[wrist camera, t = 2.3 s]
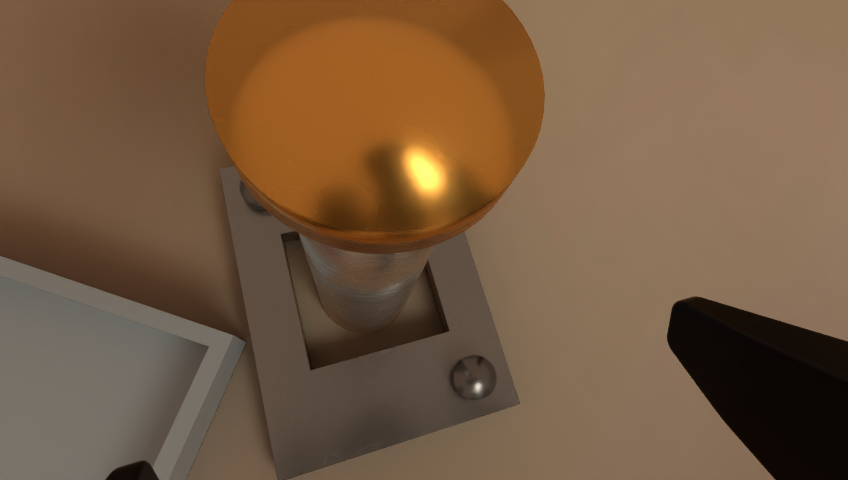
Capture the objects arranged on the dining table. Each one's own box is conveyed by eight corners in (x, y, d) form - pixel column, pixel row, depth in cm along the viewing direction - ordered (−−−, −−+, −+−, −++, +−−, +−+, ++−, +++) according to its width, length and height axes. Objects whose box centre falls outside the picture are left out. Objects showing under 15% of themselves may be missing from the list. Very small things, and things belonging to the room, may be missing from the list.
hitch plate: (512, 404, 20) (525, 403, 18) (282, 478, 18) (275, 485, 16) (427, 140, 23) (432, 121, 21) (225, 179, 21) (214, 161, 19)
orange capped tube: (400, 364, 19) (497, 283, 6) (284, 324, 19) (137, 157, 6) (436, 254, 21) (573, 7, 8) (329, 217, 21) (288, -97, 8)
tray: (95, 685, 15) (56, 727, 13) (-255, 573, 15) (-347, 600, 13) (246, 342, 19) (233, 335, 17) (-32, 247, 19) (-77, 229, 17)
